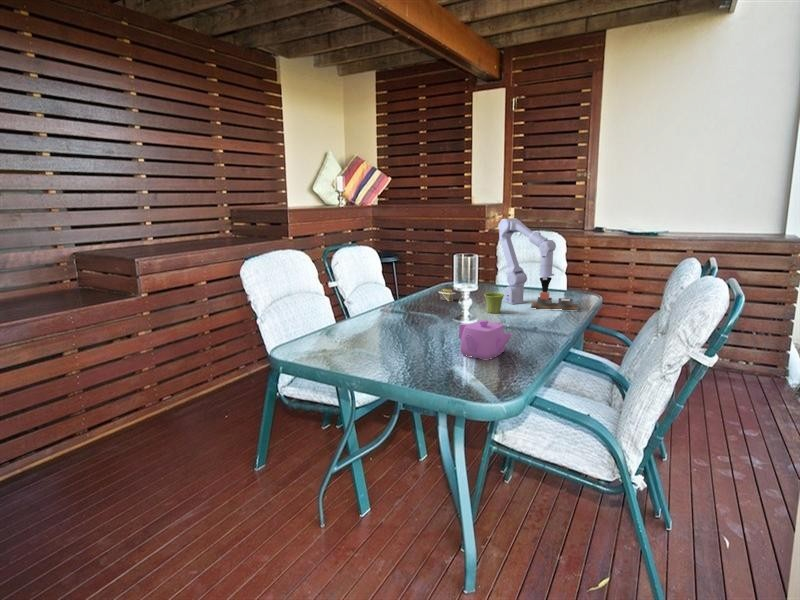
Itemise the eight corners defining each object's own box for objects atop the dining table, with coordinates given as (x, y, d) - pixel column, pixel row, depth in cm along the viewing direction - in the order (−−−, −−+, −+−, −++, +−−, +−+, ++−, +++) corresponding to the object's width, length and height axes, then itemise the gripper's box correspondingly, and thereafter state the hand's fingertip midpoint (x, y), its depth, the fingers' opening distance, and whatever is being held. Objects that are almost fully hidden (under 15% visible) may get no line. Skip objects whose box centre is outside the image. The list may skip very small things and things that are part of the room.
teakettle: (498, 345, 191) (499, 314, 189) (513, 360, 175) (514, 325, 172) (454, 347, 189) (454, 315, 187) (465, 362, 173) (466, 327, 170)
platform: (454, 305, 261) (454, 292, 260) (425, 301, 272) (425, 289, 271) (466, 301, 271) (466, 289, 269) (437, 297, 281) (437, 285, 280)
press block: (577, 307, 253) (578, 298, 252) (577, 312, 243) (578, 302, 242) (532, 304, 260) (533, 295, 259) (530, 308, 250) (531, 300, 249)
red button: (549, 298, 254) (549, 292, 253) (548, 299, 250) (549, 293, 249) (540, 297, 255) (540, 291, 254) (540, 299, 251) (540, 293, 251)
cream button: (569, 304, 251) (570, 299, 250) (569, 306, 247) (570, 300, 247) (560, 304, 252) (561, 298, 252) (560, 306, 249) (561, 300, 248)
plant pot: (507, 313, 242) (508, 295, 240) (490, 315, 238) (491, 297, 236) (496, 309, 250) (497, 292, 248) (480, 311, 247) (480, 293, 245)
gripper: (554, 267, 241) (552, 295, 244) (555, 263, 254) (553, 289, 257) (539, 266, 243) (537, 294, 246) (541, 262, 257) (539, 288, 259)
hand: (544, 291), depth 252 cm, fingers closed
